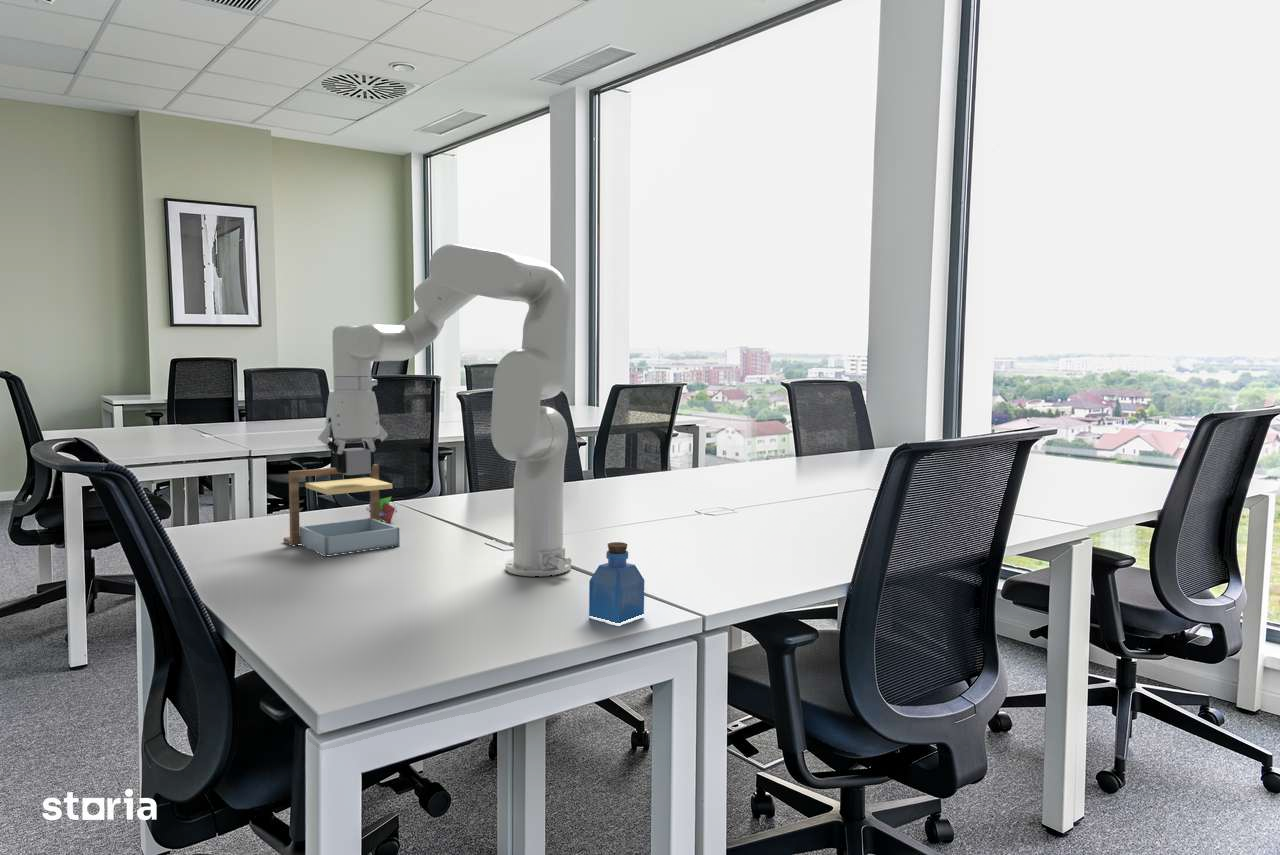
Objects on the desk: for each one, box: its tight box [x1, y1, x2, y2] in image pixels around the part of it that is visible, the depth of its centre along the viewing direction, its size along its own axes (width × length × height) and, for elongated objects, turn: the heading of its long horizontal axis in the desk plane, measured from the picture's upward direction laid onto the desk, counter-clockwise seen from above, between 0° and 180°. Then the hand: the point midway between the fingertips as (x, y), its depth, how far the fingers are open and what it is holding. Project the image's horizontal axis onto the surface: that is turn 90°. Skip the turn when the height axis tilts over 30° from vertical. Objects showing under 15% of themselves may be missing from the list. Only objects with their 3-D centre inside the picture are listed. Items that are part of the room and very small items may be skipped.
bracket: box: [283, 463, 380, 545], centre depth 189 cm, size 6×20×16 cm, turn 132°
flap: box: [304, 476, 393, 496], centre depth 182 cm, size 12×14×1 cm
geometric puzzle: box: [365, 495, 398, 524], centre depth 208 cm, size 7×7×8 cm
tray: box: [299, 517, 401, 556], centre depth 183 cm, size 14×16×4 cm
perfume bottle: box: [588, 541, 645, 623], centre depth 136 cm, size 6×6×12 cm
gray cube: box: [338, 447, 371, 476], centre depth 180 cm, size 5×5×5 cm
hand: (354, 470), depth 180 cm, fingers closed on gray cube, 5 cm apart
